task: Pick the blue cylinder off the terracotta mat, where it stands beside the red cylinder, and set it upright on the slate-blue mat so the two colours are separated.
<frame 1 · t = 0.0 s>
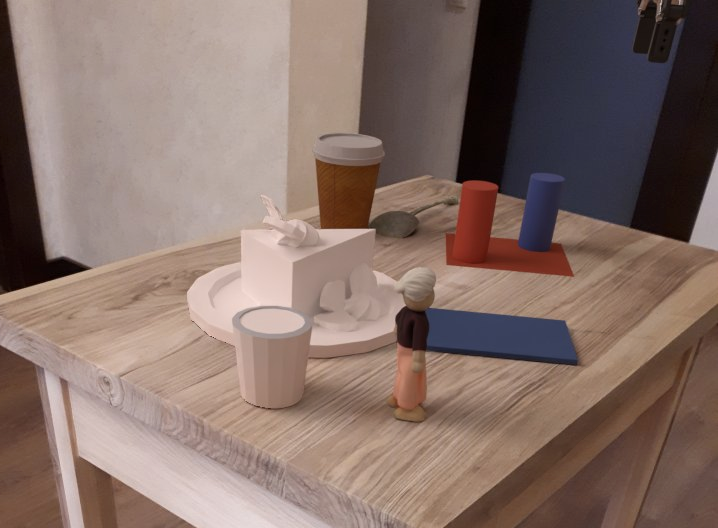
hand: (648, 57, 92), 24 cm above the table, tool pointing down, fingers open, 8 cm apart
disposable coffee cup: (343, 235, 109), on the table
blue cylinder: (533, 246, 108), point 1 cm above the table, touching red mat
grandmother figurine: (404, 408, 71), on the table
red mat: (505, 257, 105), on the table
blue mat: (494, 337, 84), on the table
dish: (302, 309, 88), on the table
soupspoon: (419, 223, 116), on the table
red cylinder: (469, 257, 103), point 1 cm above the table, touching red mat
white tapered cup: (271, 395, 71), on the table
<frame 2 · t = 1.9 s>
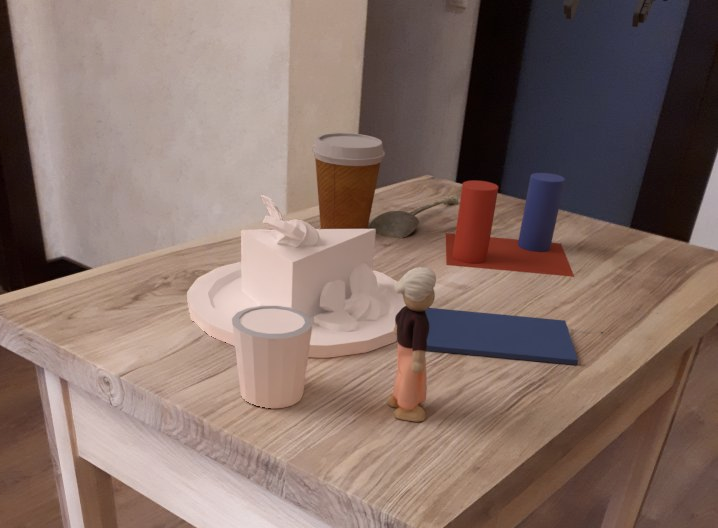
hand: (601, 18, 101), 27 cm above the table, tool tilted 45°, fingers open, 8 cm apart
nothing on the table moved.
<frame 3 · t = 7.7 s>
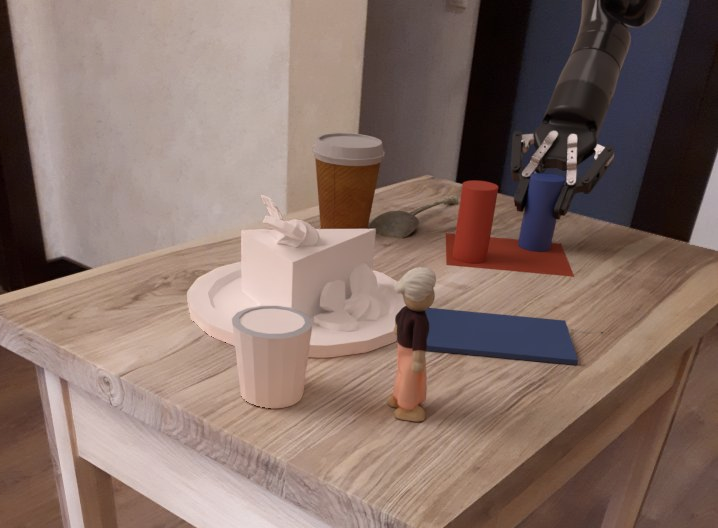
hand: (537, 211, 103), 6 cm above the table, tool tilted 45°, fingers closed on blue cylinder, 4 cm apart
blue cylinder: (534, 246, 108), point 1 cm above the table, touching gripper, red mat
everything else where it was.
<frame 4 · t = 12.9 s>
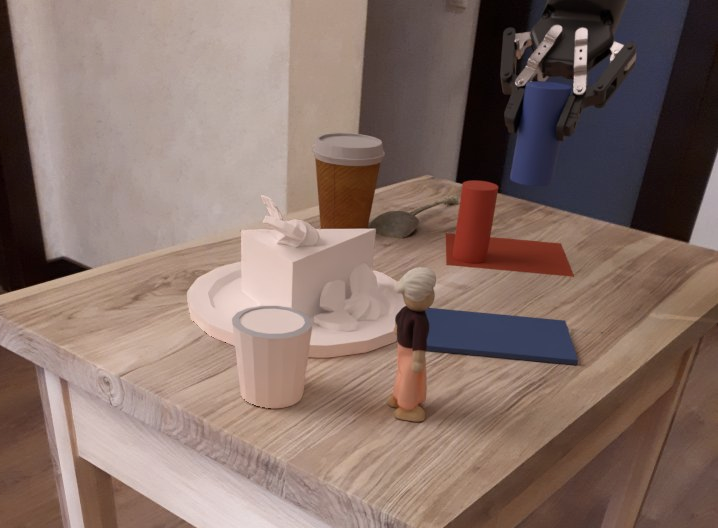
hand: (535, 131, 79), 19 cm above the table, tool tilted 45°, fingers closed on blue cylinder, 4 cm apart
blue cylinder: (531, 180, 83), point 14 cm above the table, touching gripper
everything else where it was.
when the fingers open (6 cm above the table, at t = 18.2 s): blue cylinder stays where it is, resting on blue mat.
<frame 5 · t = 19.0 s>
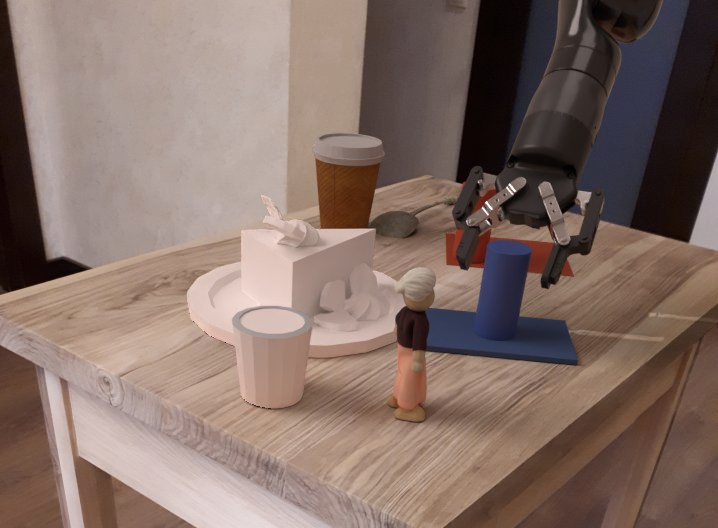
hand: (502, 275, 79), 7 cm above the table, tool tilted 45°, fingers open, 8 cm apart
blue cylinder: (494, 331, 84), point 1 cm above the table, touching blue mat
everything else where it was.
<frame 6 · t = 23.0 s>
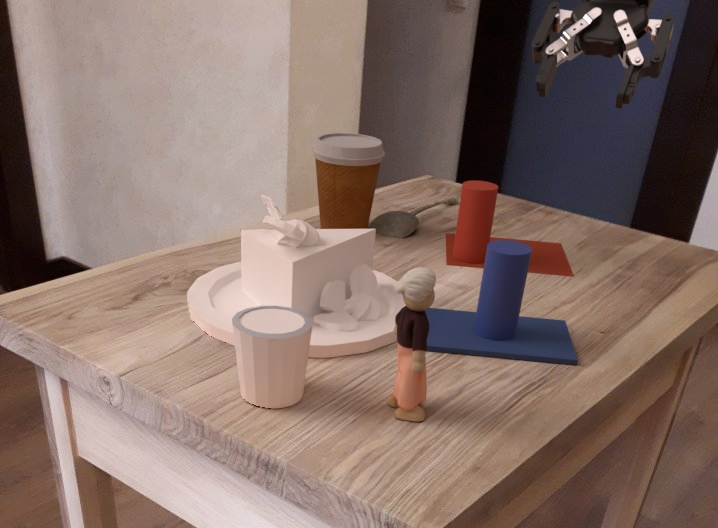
hand: (580, 98, 87), 21 cm above the table, tool tilted 45°, fingers open, 8 cm apart
nothing on the table moved.
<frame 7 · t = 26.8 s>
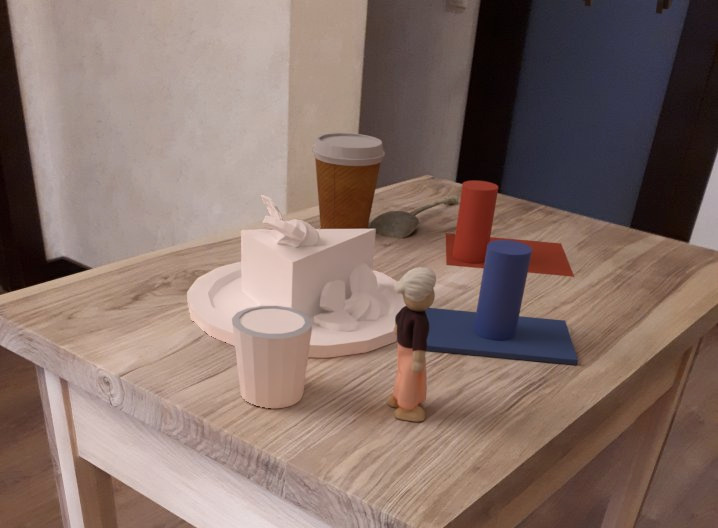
hand: (623, 4, 95), 29 cm above the table, tool tilted 45°, fingers open, 8 cm apart
nothing on the table moved.
at the end: blue cylinder inside the target area on the blue mat (0.1 cm from its centre), point 0.6 cm above the blue mat's base; blue cylinder tilted 0°; red cylinder moved 0.0 cm from its start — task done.
